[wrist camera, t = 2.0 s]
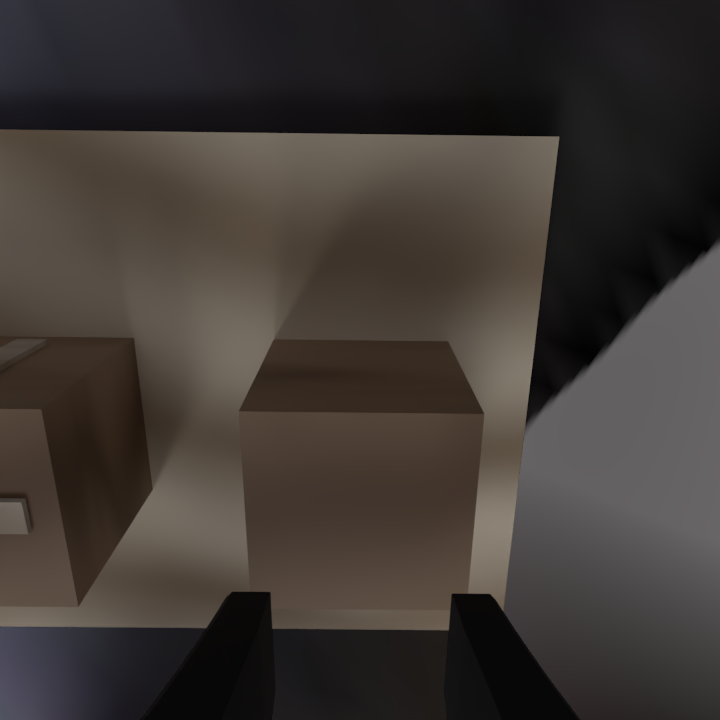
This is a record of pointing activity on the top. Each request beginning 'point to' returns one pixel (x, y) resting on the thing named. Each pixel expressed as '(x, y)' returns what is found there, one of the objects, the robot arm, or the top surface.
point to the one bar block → (67, 463)
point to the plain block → (360, 474)
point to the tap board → (270, 315)
